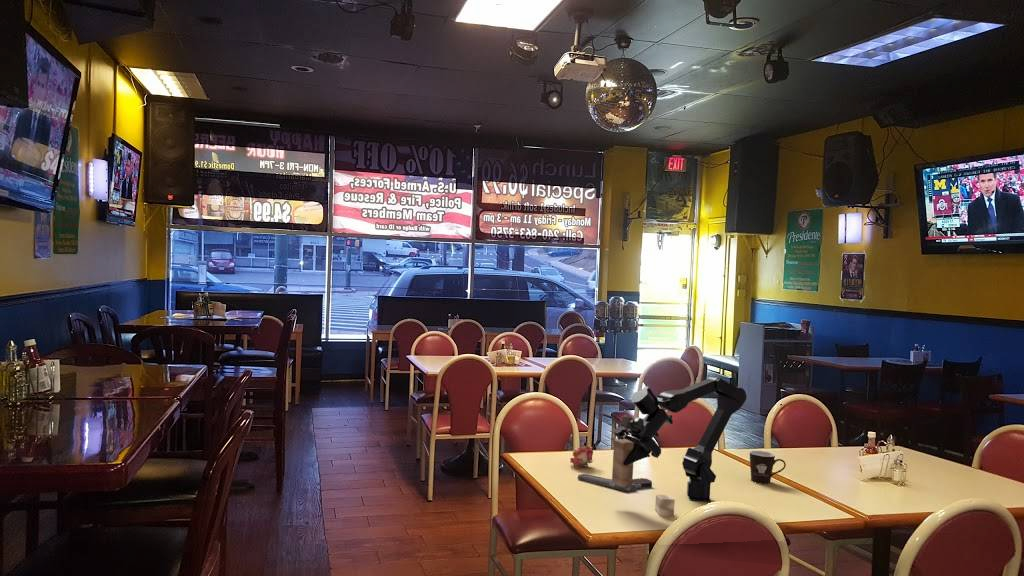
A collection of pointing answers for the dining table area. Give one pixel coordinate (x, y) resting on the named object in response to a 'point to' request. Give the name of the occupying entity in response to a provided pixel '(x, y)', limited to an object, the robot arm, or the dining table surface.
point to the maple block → (664, 505)
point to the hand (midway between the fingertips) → (619, 462)
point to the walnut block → (621, 472)
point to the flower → (582, 456)
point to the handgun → (608, 483)
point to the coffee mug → (762, 466)
